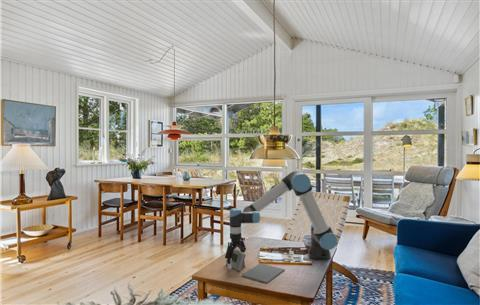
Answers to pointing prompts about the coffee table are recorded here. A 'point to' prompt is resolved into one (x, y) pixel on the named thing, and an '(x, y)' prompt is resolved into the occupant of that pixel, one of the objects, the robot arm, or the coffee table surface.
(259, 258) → the coffee table surface
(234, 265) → the digital clock
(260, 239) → the coffee table surface
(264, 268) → the mat
